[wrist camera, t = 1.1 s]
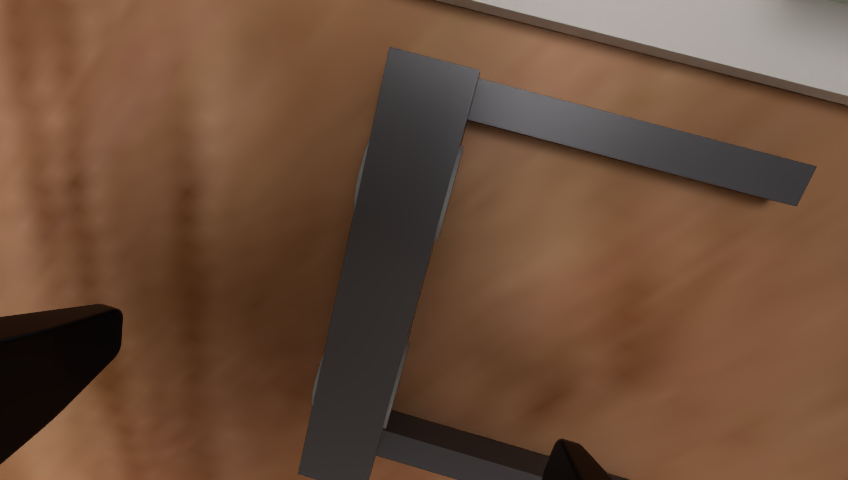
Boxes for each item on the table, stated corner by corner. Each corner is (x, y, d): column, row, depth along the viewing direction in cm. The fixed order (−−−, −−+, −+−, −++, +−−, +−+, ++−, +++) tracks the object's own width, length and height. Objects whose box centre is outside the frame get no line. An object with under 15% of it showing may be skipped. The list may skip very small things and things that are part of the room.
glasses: (787, 163, 13) (873, 172, 11) (621, 504, 17) (651, 579, 14) (403, 63, 14) (385, 45, 11) (323, 416, 18) (295, 473, 15)
